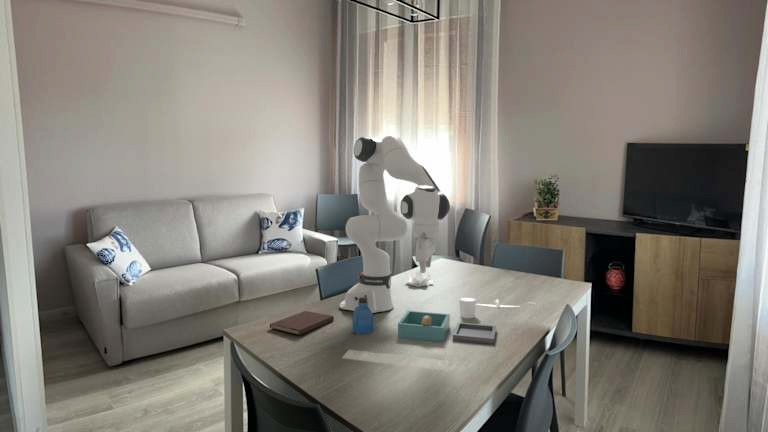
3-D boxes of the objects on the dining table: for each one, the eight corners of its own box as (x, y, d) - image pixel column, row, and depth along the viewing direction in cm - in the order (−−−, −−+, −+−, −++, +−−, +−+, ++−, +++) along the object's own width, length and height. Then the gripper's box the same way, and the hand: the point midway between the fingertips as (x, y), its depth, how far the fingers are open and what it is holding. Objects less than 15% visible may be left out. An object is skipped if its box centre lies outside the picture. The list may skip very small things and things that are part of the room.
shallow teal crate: (397, 337, 181) (397, 323, 180) (407, 323, 196) (407, 310, 195) (442, 342, 176) (443, 327, 176) (449, 327, 192) (449, 314, 191)
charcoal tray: (452, 340, 178) (452, 334, 178) (457, 327, 192) (457, 322, 191) (493, 344, 174) (493, 338, 174) (495, 331, 188) (496, 325, 188)
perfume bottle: (356, 334, 184) (356, 301, 183) (353, 328, 190) (352, 297, 188) (373, 332, 186) (373, 300, 184) (369, 327, 192) (369, 295, 190)
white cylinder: (475, 319, 201) (476, 302, 201) (458, 318, 203) (458, 300, 202) (476, 314, 208) (476, 297, 207) (459, 313, 209) (459, 296, 209)
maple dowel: (419, 331, 185) (421, 322, 178) (421, 323, 187) (423, 314, 179) (427, 334, 185) (430, 325, 177) (430, 326, 187) (432, 317, 179)
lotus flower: (437, 286, 252) (437, 269, 251) (430, 294, 238) (430, 275, 237) (409, 284, 257) (409, 266, 256) (400, 291, 243) (400, 273, 242)
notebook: (269, 327, 192) (269, 322, 192) (304, 314, 209) (304, 309, 208) (299, 335, 184) (299, 329, 184) (333, 320, 200) (333, 315, 200)
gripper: (429, 236, 171) (429, 276, 173) (439, 228, 191) (438, 264, 192) (411, 235, 173) (410, 275, 174) (422, 227, 192) (422, 263, 194)
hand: (425, 269), depth 184 cm, fingers open, 8 cm apart
